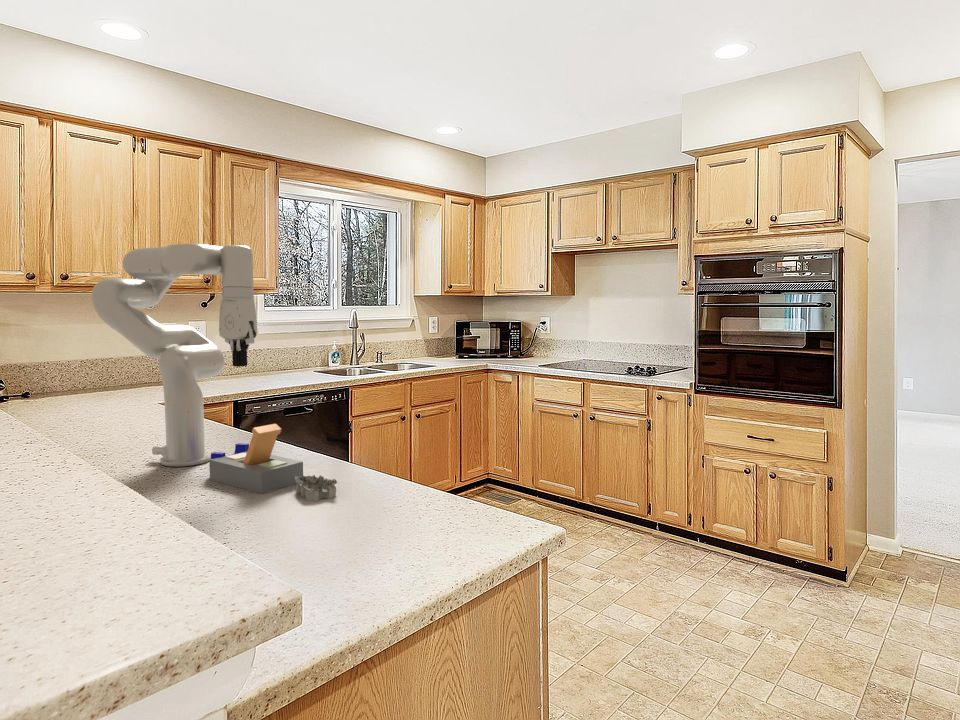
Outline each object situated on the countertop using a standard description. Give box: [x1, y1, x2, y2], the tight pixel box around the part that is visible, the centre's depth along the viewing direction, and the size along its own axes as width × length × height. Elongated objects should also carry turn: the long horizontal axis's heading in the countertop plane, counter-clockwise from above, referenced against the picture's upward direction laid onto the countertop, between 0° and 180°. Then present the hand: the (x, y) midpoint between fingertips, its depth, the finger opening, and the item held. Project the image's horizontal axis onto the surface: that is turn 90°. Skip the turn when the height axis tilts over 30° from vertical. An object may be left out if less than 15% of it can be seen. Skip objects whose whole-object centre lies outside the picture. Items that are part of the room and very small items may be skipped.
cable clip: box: [210, 442, 250, 459], centre depth 163 cm, size 12×4×6 cm, turn 168°
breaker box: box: [208, 452, 304, 495], centre depth 154 cm, size 20×12×5 cm, turn 56°
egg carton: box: [295, 474, 338, 501], centre depth 144 cm, size 11×8×4 cm
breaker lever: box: [244, 423, 282, 465], centre depth 152 cm, size 2×6×12 cm, turn 148°
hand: (240, 365), depth 162 cm, fingers closed
